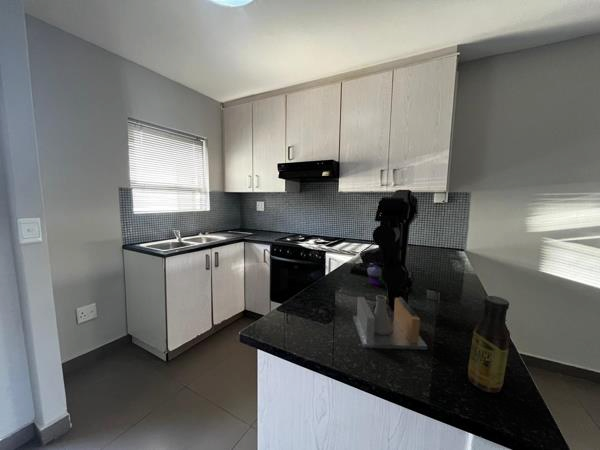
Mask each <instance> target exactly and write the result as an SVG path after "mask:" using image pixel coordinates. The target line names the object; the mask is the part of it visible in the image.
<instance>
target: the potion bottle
mask: <svg viewBox="0 0 600 450" xmlns="http://www.w3.org/2000/svg"><path fill="white" fill-rule="evenodd" d="M371 264H373V265H374V267H369V268H368V269H367V272H368V276H369V277H368V279H369V284H370V285H371V286H373V287H382V286H383V283H384V280H382V279H381V276H380V267H379V266H378V265H377V262H375V263H371Z"/></svg>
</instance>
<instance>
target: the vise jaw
mask: <svg viewBox="0 0 600 450" xmlns="http://www.w3.org/2000/svg"><path fill="white" fill-rule="evenodd" d="M393 317H394V319H395V320H396V322H397V323H398V325H399V326H400V328H401V329H402V331H403V332H404V334H405V335H406V337H407V338H408V340H409V341H410V343H418V340H419V336H420V325H421V323H420V322H421V319H420V317H418V315H417V314H416V311H415V310H414V309H413V308H412V307H411V306H410V305H409V303H408V304H407V303H406V302H405V300H404V299H403V298H402V297H399V298H395V306H394V310H393Z"/></svg>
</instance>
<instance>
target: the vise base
mask: <svg viewBox="0 0 600 450" xmlns="http://www.w3.org/2000/svg"><path fill="white" fill-rule="evenodd" d="M356 307H357V309H356V315H353V317H352V319H353V322H354V326H355V328H356V330H357V334H358V335H359V336H358V337H359V340H360V343H361V345H362V348H368V349H370V348H371V349H392V350H393V349H395V350H396V349H397V350H398V349H399V350H423V351H424V350H426V351H427V350H428V345H427V344H426V342H425V341H424V340H423V338H422V337H421V336H420V335H419V340H418V343H410V341H409V340H408V338H407V337H406V335H405V334H404V332H403V331H402V329H401V328H400V326H399V325H398V323H397V322H396V320H395V319H394V316H388V317H389V320H390V323H391V326H392V332H391V334H383V335H380V334H377V333H374V325H375V318H374V316H373V312H372V310H371V308H370V306H369V304H368V302H367V301H366V299H365V296H357V305H356Z"/></svg>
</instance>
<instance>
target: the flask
mask: <svg viewBox="0 0 600 450" xmlns="http://www.w3.org/2000/svg"><path fill="white" fill-rule="evenodd" d="M375 299H376V304H375V308H374V311H373V312H372V314H373V316H374V318H375V325H374V333H377V334H380V335H383V334H391V332H392V326H391V323H390V320H389V317H390V316H389V313H388V311H387V303H386V301H387V295H386V296H385V295H379V294H378V295H376V296H375Z"/></svg>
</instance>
